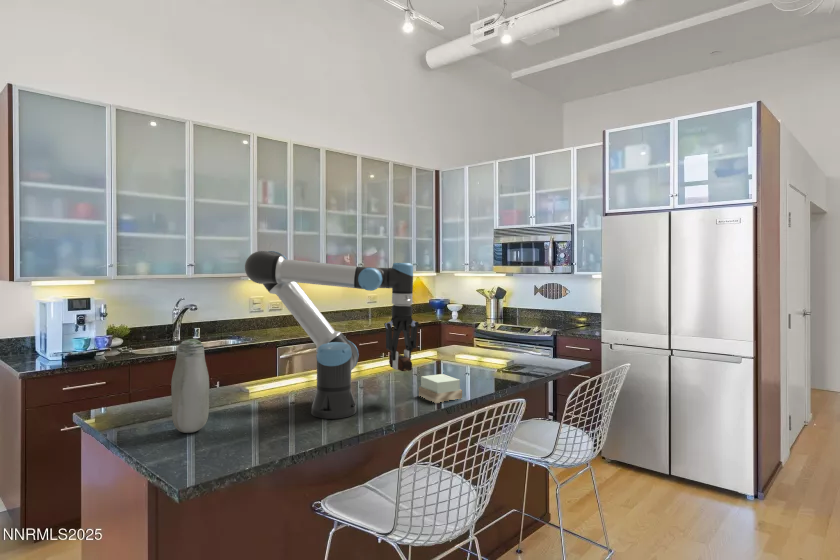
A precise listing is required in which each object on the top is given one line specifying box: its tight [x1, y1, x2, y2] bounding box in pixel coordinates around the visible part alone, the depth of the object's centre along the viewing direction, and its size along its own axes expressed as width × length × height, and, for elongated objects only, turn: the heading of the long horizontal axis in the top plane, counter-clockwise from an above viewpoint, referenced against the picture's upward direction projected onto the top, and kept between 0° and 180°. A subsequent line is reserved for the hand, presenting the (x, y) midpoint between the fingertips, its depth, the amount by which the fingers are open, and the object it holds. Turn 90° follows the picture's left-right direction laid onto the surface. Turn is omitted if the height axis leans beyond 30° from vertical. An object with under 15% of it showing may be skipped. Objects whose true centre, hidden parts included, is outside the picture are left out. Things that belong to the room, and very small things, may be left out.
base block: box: [418, 386, 463, 404], centre depth 200 cm, size 12×12×4 cm
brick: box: [388, 353, 413, 372], centre depth 191 cm, size 11×4×5 cm, turn 32°
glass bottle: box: [170, 338, 210, 434], centre depth 157 cm, size 10×10×28 cm
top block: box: [420, 373, 461, 394], centre depth 200 cm, size 10×12×4 cm
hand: (400, 368), depth 191 cm, fingers closed on brick, 4 cm apart
